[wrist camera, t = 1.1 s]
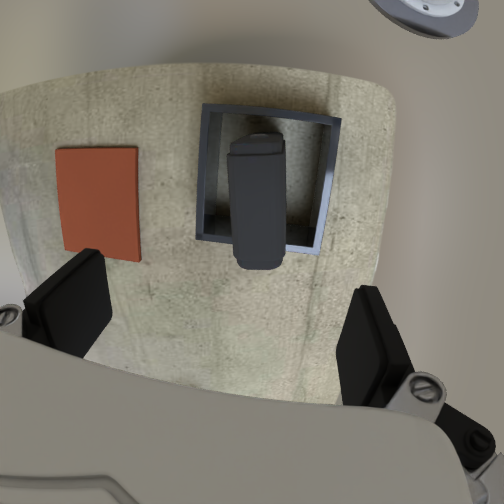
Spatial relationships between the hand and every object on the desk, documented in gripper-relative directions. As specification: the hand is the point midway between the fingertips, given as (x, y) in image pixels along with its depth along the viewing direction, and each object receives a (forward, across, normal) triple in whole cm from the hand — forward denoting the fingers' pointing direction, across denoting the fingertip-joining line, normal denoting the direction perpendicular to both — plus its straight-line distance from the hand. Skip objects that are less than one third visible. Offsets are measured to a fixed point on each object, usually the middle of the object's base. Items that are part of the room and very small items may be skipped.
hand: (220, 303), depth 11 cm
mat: (+26, +22, +6) cm, 34 cm away
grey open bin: (+26, 0, 0) cm, 26 cm away
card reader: (+26, 0, 0) cm, 26 cm away
